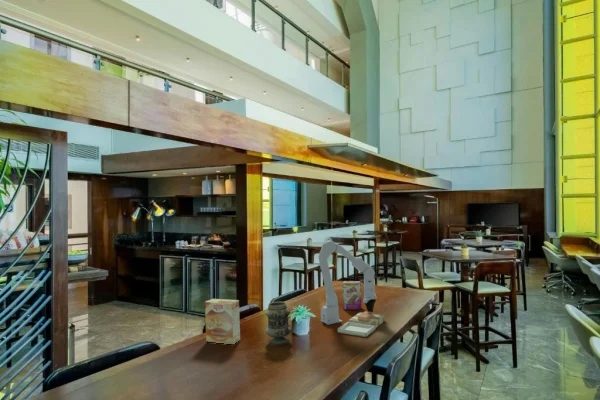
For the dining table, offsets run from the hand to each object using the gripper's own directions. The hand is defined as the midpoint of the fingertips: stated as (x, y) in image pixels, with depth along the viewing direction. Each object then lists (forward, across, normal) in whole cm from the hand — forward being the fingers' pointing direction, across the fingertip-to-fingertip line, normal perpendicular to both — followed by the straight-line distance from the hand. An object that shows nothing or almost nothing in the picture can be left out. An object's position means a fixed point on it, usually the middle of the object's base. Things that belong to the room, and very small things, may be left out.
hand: (370, 313), depth 201 cm
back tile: (+1, -4, 0) cm, 4 cm away
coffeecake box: (+4, -60, +52) cm, 79 cm away
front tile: (+1, -9, 0) cm, 9 cm away
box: (+4, -20, 0) cm, 20 cm away
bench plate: (+4, -5, 0) cm, 7 cm away
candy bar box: (+4, +18, +18) cm, 26 cm away
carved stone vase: (+4, -49, +27) cm, 56 cm away
